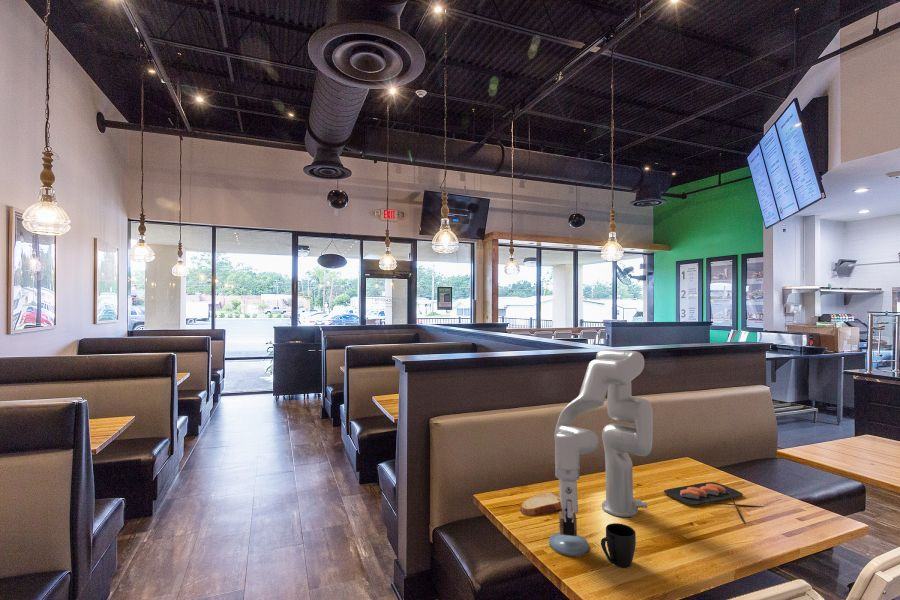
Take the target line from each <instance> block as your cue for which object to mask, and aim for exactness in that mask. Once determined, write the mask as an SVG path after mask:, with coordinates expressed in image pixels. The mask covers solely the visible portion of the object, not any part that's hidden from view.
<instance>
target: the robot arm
mask: <svg viewBox="0 0 900 600" xmlns="http://www.w3.org/2000/svg"><path fill="white" fill-rule="evenodd" d="M644 368H645V358H644V355H643V354H642V353H641V352H640V351H635V350H622V349H601V350H599V351H597V353H596V354H595V359H593V360H591V361H589V363H588V364H587V368H586V371H585V375H584V378H583V381H582V384H581V387H580V390H579V394H578V395H577V396H576V397H575V398H574V399H572V400H571V401H570V402H569V403H568V404H567V405H566V406H565V407H564V408H563V409H562V410H561V412H560V414H559V416H558V420H557V422H556V425H555V429H554V434H553V435H554V436H553V437H554V449H555V450H554V456H555V457H554V466H555V467H554V469H555V470H554V471H555V473H554V475H555V476H554V477H556V478H557V479H558V480H559V482H558V485H559V486H558V488H559V496H560V502H561V508H562V509H561V512H564V521H563V533H564V535H574V522H573V513H575V515H577V514H578V513H579V508H578V507H579V505H578V503H579V502H578V500H579V499H578V483H577V481H578V480H580V469H581V468H580V466H581V465H580V456H581V455H585V454H586V455H587V454H591V453H593V452H595V450H597V448H598V446H599V436H598V434H597V433H596V432H594V431H593V430H590V429H587V428H582V427H579V426H574V425H572V424H573V421H574V420H575V419H576V418H577V417H578V416H579V415H581V414H583V413H586V412H589V411H592V410H596V409H599V408H602V407H603V405H604V403H605V400H606V398H607V400H606V406H607V407H606V412H607V416H608V417H609V418H610V419H612V420H614V421H618V422H623V423H629V424H634V425H635V426H629V425H624V424H620V423H609V424H606V425H605V426H603V429H602V432H601V440H602V443H603V450H604V457H605V458H604V459H605V500H603V501H602V502H601V508H602V510H603V511H604V512H606V513H608V514H610V515H611V516H612V515H613V516H616V517H622V518H630V517H635V516H637V514H638V513H639V509H638V508H643V509H647V508H648V502H646V501H643V500H642V499H635V498H634V483H633V482H634V477H633V475H634V473H633V470H634V469H633V461H632V459H631V456H630V455H634V456H635V455H636V456H640V457H646V456H648V455H650V454H651V452H652V449H653V442H654V441H653V439H654V436H653V433H654V432H653V431H654V430H653V426H654V425H653V424H654V410H653V407H652V406H653V405H652V404H651V402H650V401H649V400H647V399H645V398H641V397H635V396H632V381H633V380H634V379H636V378H637V377H638V376H640V375H641V373H642V372H643V370H644ZM629 454H630V455H629ZM566 513H567V515H566Z"/></svg>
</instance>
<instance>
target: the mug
mask: <svg viewBox="0 0 900 600" xmlns="http://www.w3.org/2000/svg"><path fill="white" fill-rule="evenodd" d="M636 535H637V534H636V531H635V529H634V528H633V527H631V526H629V525H627V524H623V523H618V522H615V523H614V522H613V523H609V524H607V525H606V527H605V537H602V538H601V539H600V546H601V549H602V551H603V553H604V555H605V557H606V558H607V560H608V562H609V563H610V565H613V566H615V567H619V568H621V569H624V568H625V569H628V568H630V567H631V566H632V563H633V559H634V556H635V551H636V547H637V545H636V544H637V540H636V539H637V538H636Z"/></svg>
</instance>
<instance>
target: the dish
mask: <svg viewBox="0 0 900 600" xmlns="http://www.w3.org/2000/svg"><path fill="white" fill-rule="evenodd" d="M548 545H549V547H550V546H551V547H550V548H551V549H552V548H553V549H554V550H555V551H554V550H553V549H552V550H553V551H554V552H556V551H557V552H559V553H558V554H560V553H561V555H562V554H563V555H564V556H567V555H568V556H567V557H579V555H581V556H583V555H586V554H587V553H588V552H589V542H588V540H587V539H586V538H585V537H584V536H581V535H580V534H577V536H568V535H560V531H559V532H555V533H553V534H552V535H550V536H549V539H548ZM557 552H556V553H557ZM563 555H562V556H563Z"/></svg>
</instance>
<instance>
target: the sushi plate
mask: <svg viewBox="0 0 900 600" xmlns="http://www.w3.org/2000/svg"><path fill="white" fill-rule="evenodd" d="M663 492H664V494H665V495H667V496H668V497H671V498H673V499H675V500H677V501H678V502H681V503H684V504H686V505H689V506H699V505H704V504H713V505H715V504H716V505H725V506H734V507H735V509H736V512H737V513H738V515H739V517H740V519H741V521H742V523H743V524H744V525H747V524H746V521H745V520H744V518H743V516H742V513H741V512H740V510H739V508H738V507H746V508H765V506H764V505H751V504H738V503H735V501H734V499H735V498H739V497H742V496H743V495H744V494H743V493H742V492H741V491H738V490H737V489H734V488H731V487H730V486H726V485H724V484H722V483H719V482H716V481H715V482H714V481H709V482H708V481H707V482H701V483H696V484H689V485H684V486H677V487H672V488H667V489H665V490H663ZM730 499H731V500H732V503H724V502H721V501H724V500H725V501H726V500H730Z"/></svg>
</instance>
